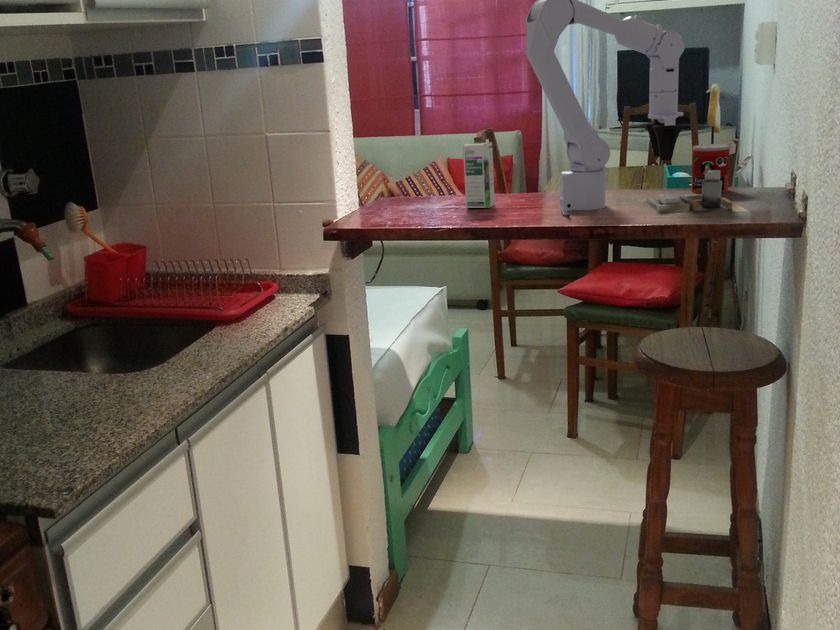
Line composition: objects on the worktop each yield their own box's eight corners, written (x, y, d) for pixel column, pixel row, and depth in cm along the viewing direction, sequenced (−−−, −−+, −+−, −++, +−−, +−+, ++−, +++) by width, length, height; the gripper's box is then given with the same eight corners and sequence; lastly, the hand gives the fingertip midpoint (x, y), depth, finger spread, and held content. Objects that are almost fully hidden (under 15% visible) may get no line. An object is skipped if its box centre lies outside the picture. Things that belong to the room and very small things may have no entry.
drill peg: (703, 208, 160) (705, 172, 158) (699, 205, 163) (701, 170, 161) (722, 207, 159) (724, 171, 157) (718, 205, 163) (720, 169, 161)
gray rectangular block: (664, 210, 163) (664, 198, 163) (658, 205, 169) (658, 194, 168) (680, 210, 163) (680, 198, 162) (673, 205, 169) (673, 193, 168)
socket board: (658, 220, 160) (658, 206, 159) (642, 205, 176) (643, 192, 175) (748, 216, 158) (748, 201, 158) (724, 201, 175) (724, 188, 174)
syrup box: (465, 209, 187) (461, 144, 183) (471, 204, 192) (468, 142, 188) (489, 209, 185) (487, 143, 181) (495, 204, 190) (492, 141, 186)
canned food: (688, 198, 181) (689, 148, 178) (694, 192, 188) (696, 144, 185) (724, 199, 178) (726, 147, 174) (729, 193, 184) (732, 143, 181)
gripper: (691, 91, 162) (689, 160, 166) (675, 89, 176) (674, 153, 180) (655, 94, 163) (654, 162, 167) (642, 91, 177) (641, 155, 181)
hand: (662, 158), depth 173 cm, fingers open, 7 cm apart
